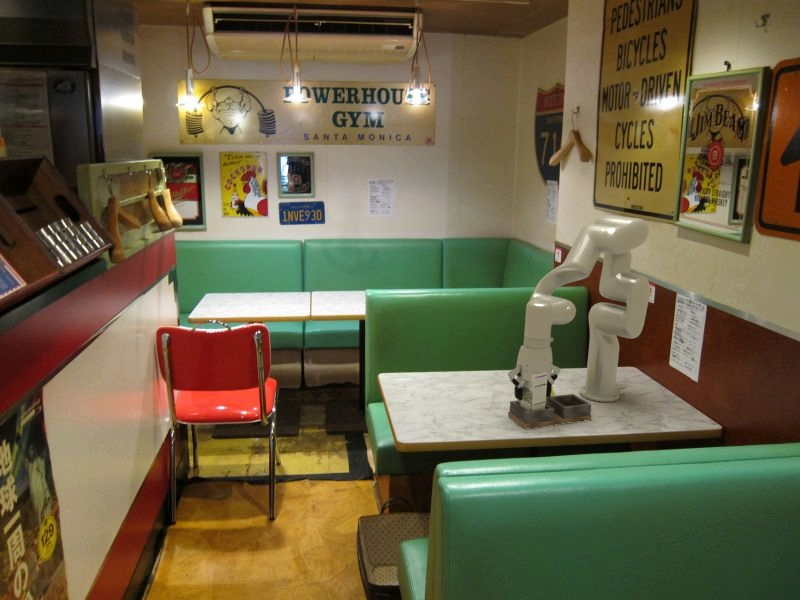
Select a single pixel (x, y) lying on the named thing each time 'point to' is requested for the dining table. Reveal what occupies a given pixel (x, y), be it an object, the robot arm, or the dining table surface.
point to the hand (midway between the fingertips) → (532, 397)
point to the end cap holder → (552, 412)
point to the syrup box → (534, 392)
